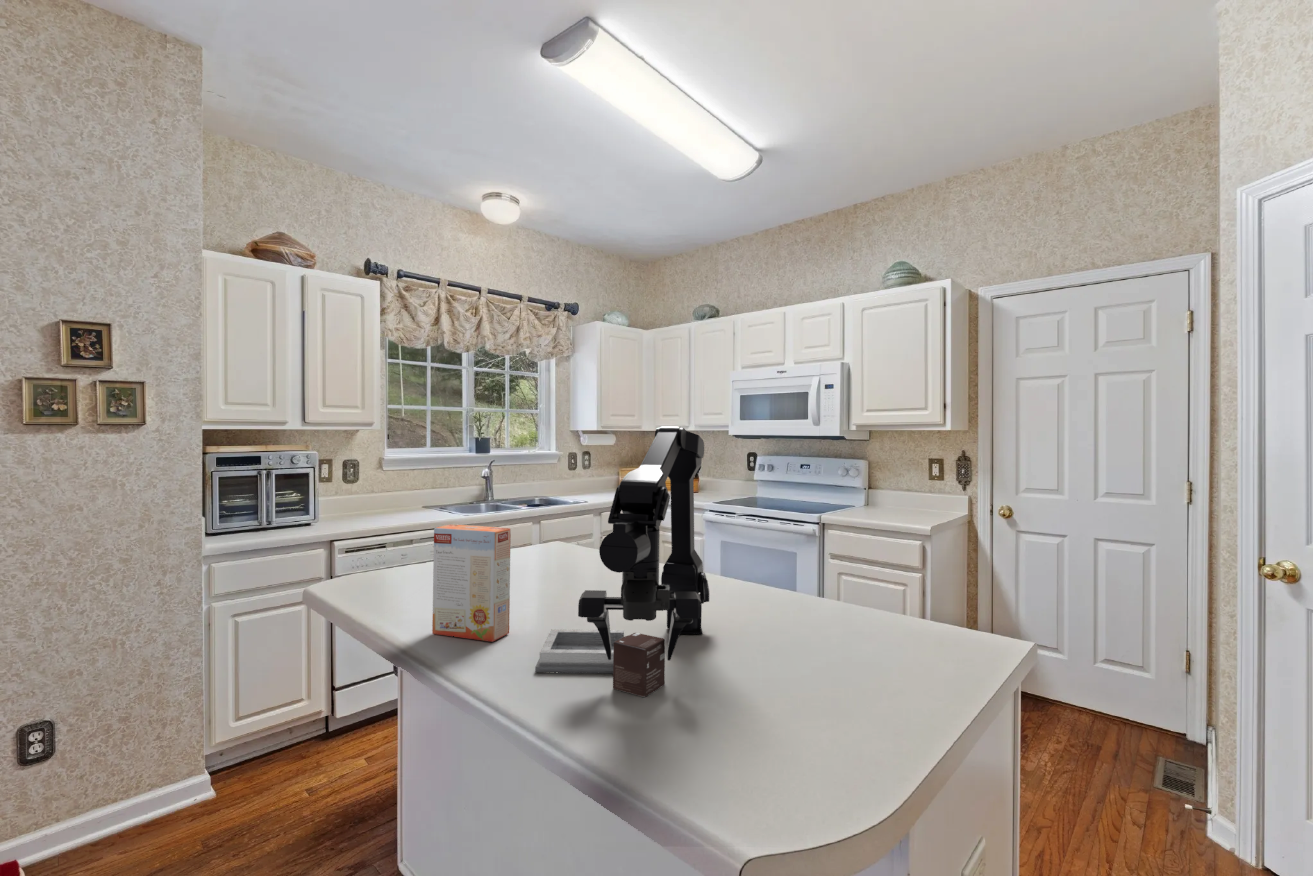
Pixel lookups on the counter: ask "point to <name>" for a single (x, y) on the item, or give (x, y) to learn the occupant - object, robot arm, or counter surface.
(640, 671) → the box
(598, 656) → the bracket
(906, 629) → the counter surface
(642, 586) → the robot arm
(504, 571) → the cracker box
